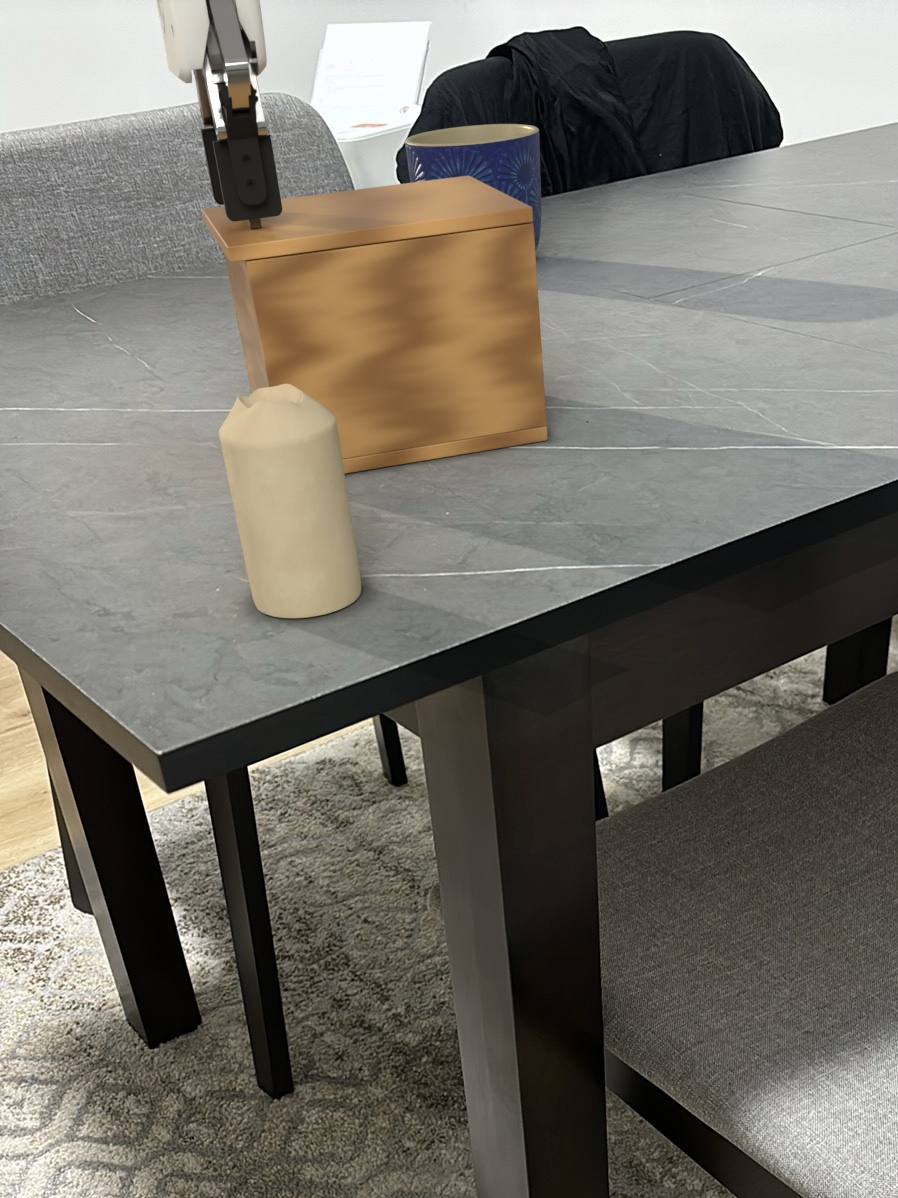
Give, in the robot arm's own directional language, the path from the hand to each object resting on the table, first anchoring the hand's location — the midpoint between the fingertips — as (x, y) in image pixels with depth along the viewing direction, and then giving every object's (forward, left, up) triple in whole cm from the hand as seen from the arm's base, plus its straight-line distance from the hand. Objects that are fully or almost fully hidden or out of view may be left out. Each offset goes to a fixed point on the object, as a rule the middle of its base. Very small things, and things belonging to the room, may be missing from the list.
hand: (247, 206), depth 82 cm
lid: (+7, 0, -2) cm, 7 cm away
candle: (-3, -26, -14) cm, 30 cm away
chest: (+7, 0, -14) cm, 16 cm away
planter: (+26, +49, -14) cm, 57 cm away
